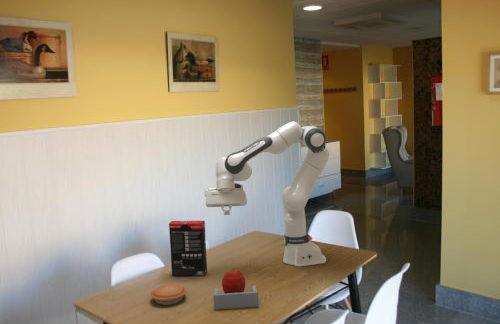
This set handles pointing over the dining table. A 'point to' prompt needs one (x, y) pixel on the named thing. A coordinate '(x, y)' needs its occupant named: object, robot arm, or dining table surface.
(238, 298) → the frame
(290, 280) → the dining table surface
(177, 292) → the pie
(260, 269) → the dining table surface
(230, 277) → the apple
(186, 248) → the graphics card box
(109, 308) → the dining table surface
